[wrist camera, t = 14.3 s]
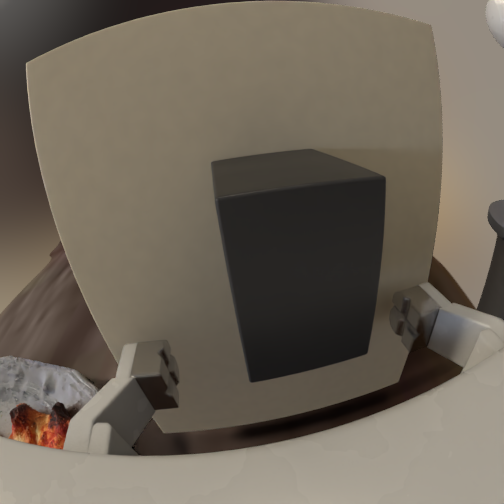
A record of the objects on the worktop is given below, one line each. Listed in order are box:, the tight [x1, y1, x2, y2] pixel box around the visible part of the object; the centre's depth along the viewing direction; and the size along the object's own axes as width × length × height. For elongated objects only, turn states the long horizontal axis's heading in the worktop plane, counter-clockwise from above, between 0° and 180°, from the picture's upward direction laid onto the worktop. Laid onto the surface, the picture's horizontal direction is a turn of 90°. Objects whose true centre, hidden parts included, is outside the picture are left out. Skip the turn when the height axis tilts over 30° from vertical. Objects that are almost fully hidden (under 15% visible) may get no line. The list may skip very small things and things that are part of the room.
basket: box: [26, 1, 443, 433], centre depth 14 cm, size 17×14×18 cm
